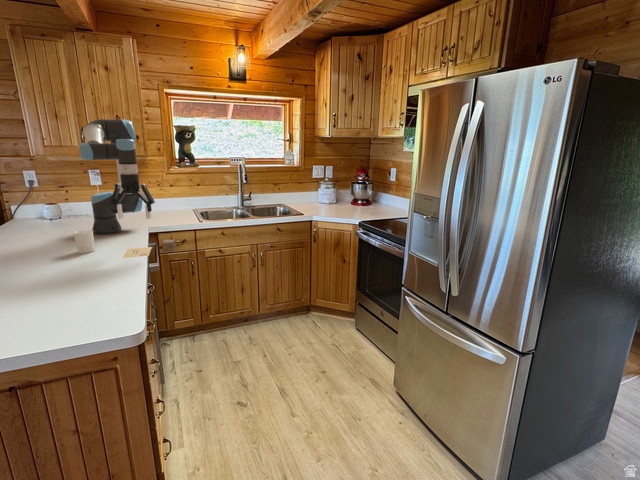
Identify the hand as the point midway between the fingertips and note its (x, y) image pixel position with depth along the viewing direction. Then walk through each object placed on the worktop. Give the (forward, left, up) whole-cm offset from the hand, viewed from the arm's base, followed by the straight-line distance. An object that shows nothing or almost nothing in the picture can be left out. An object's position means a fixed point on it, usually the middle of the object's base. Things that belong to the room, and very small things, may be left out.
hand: (134, 218), depth 174 cm
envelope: (+3, 0, -17) cm, 17 cm away
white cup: (-7, -24, -17) cm, 30 cm away
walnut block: (+4, +14, -17) cm, 22 cm away
